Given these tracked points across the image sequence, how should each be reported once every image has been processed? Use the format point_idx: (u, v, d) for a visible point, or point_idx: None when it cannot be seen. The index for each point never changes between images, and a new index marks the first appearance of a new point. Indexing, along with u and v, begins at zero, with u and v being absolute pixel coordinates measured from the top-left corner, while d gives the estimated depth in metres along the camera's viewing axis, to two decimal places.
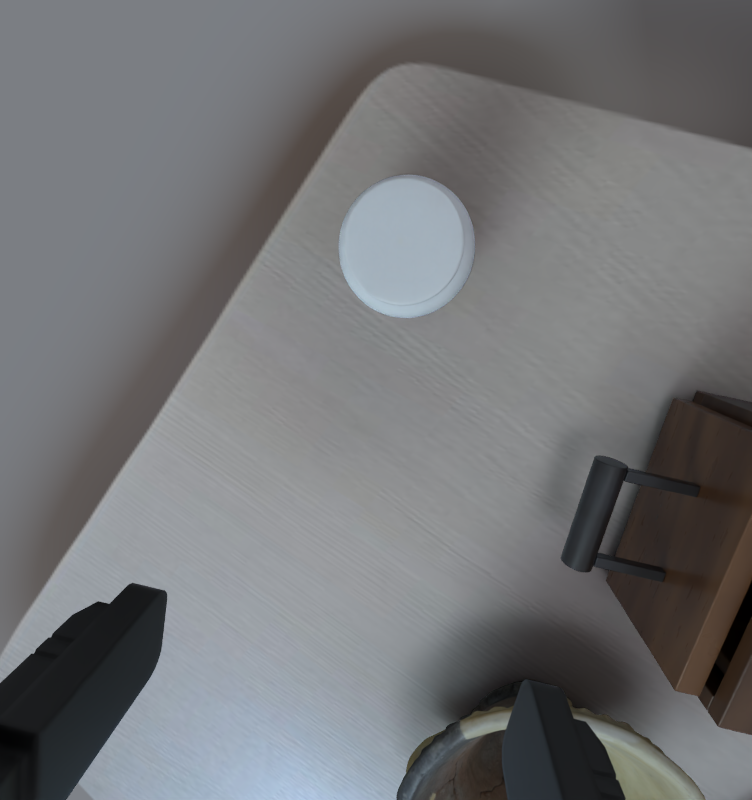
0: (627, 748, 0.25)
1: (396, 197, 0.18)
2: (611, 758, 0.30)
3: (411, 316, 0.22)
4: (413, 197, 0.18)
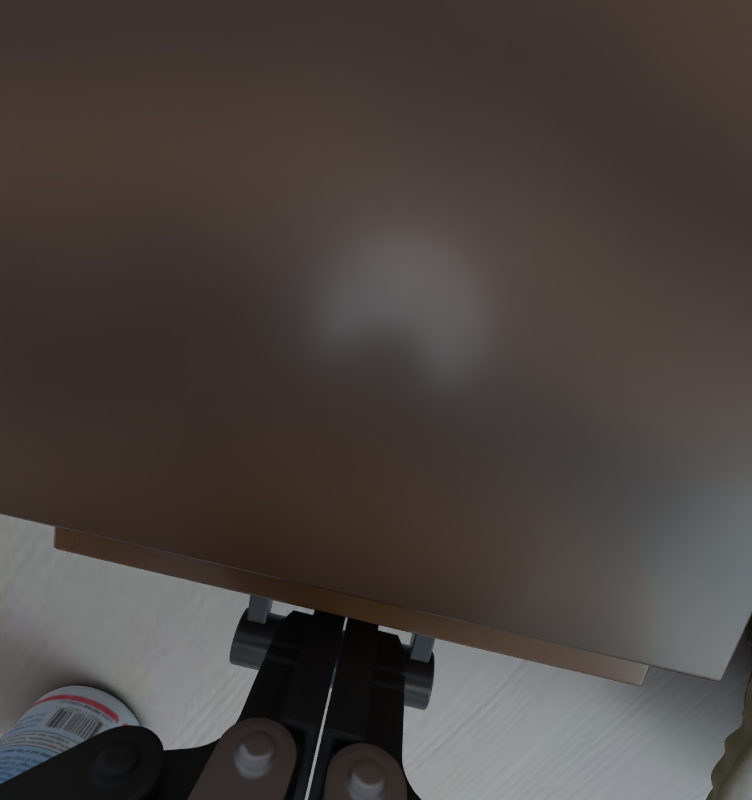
0: None
1: None
2: None
3: None
4: None
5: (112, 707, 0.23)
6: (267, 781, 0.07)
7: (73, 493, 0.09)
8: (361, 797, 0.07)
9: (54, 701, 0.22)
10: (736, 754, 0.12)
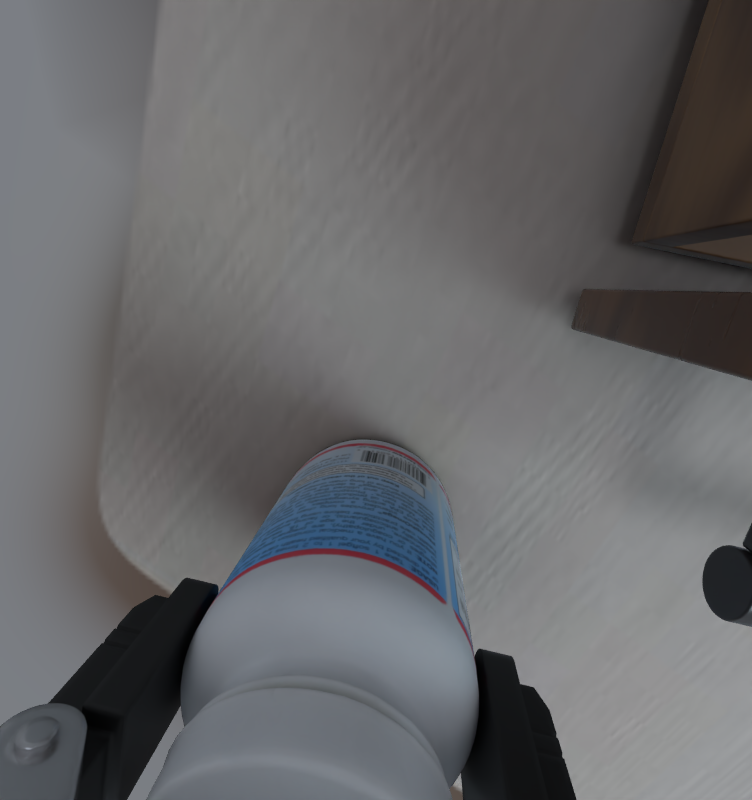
0: None
1: None
2: None
3: (476, 707, 0.09)
4: None
5: (422, 463, 0.16)
6: (38, 766, 0.06)
7: None
8: None
9: (348, 447, 0.16)
10: None
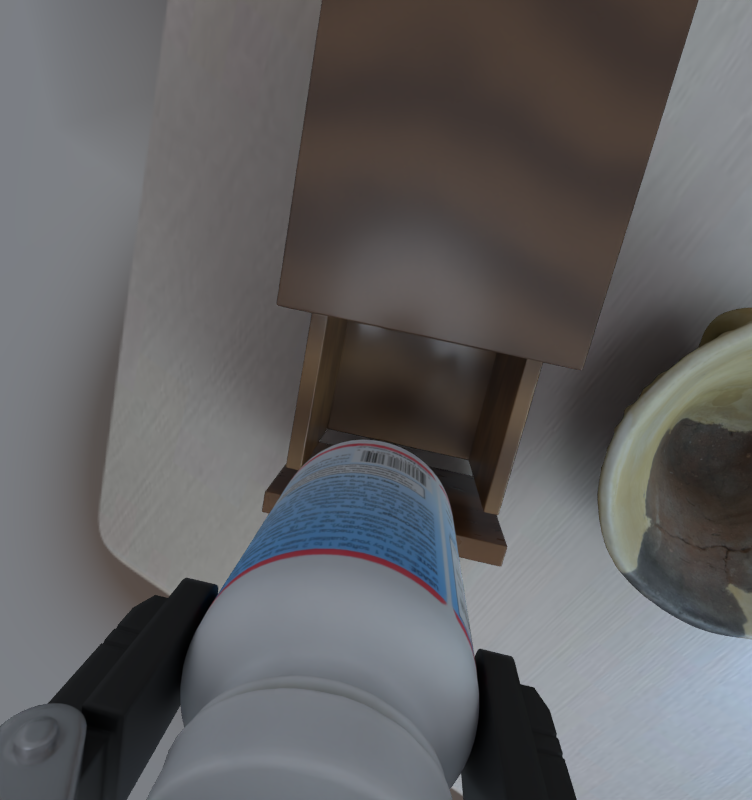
0: (640, 425, 0.23)
1: None
2: (709, 386, 0.26)
3: (477, 707, 0.09)
4: None
5: (422, 463, 0.16)
6: (38, 767, 0.06)
7: (314, 294, 0.21)
8: None
9: (348, 447, 0.16)
10: (608, 446, 0.24)
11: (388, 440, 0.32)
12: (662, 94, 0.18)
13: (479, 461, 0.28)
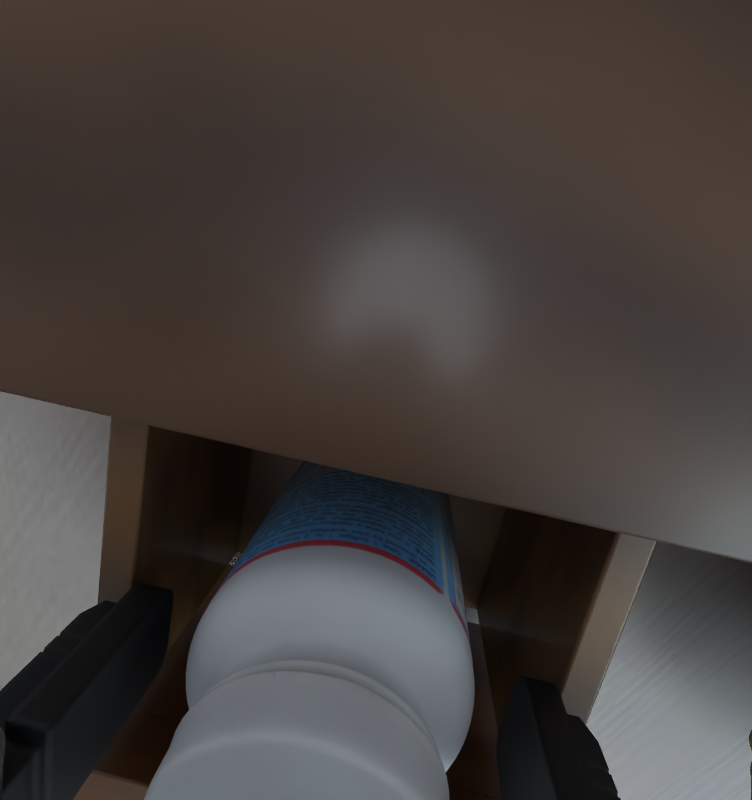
0: None
1: None
2: None
3: (472, 693, 0.10)
4: None
5: None
6: None
7: (84, 367, 0.08)
8: None
9: None
10: None
11: None
12: None
13: (498, 650, 0.15)
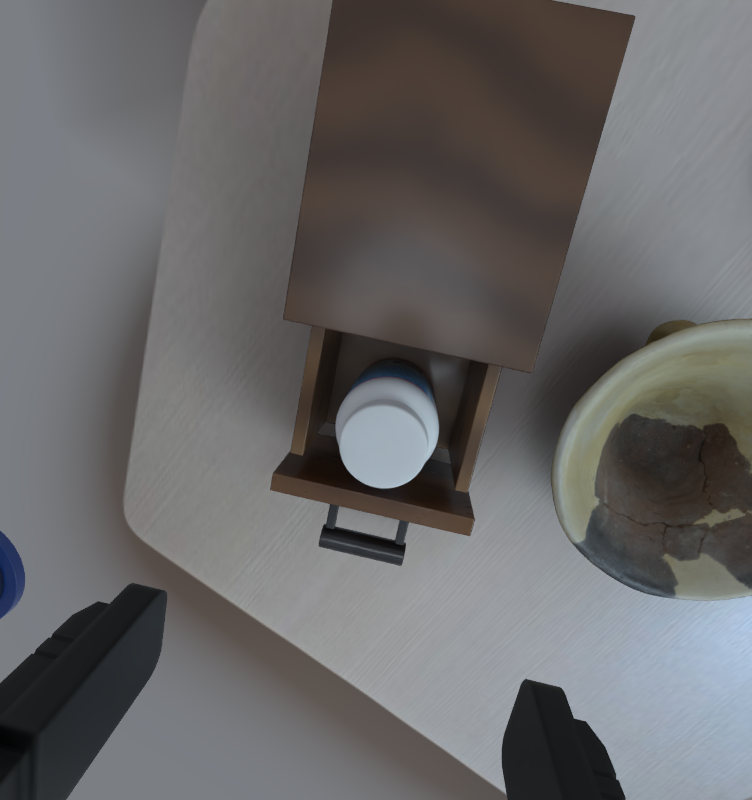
0: (583, 418, 0.28)
1: (352, 452, 0.25)
2: (647, 386, 0.31)
3: (437, 427, 0.28)
4: (352, 440, 0.25)
5: None
6: None
7: (314, 311, 0.26)
8: None
9: (385, 360, 0.34)
10: None
11: None
12: (590, 155, 0.23)
13: (454, 449, 0.33)
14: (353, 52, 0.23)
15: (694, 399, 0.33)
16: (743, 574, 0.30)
